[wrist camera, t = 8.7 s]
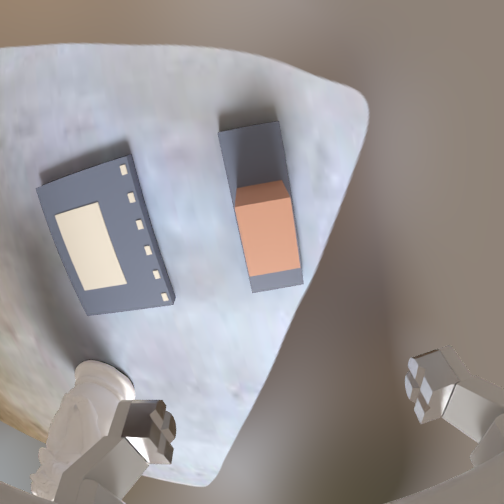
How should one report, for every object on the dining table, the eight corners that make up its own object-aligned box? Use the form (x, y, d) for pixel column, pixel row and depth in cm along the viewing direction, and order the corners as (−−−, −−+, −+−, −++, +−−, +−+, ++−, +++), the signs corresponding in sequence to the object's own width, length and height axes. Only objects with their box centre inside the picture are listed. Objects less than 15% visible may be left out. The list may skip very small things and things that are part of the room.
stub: (252, 286, 29) (253, 328, 24) (218, 131, 23) (210, 138, 18) (301, 277, 29) (313, 318, 23) (277, 121, 23) (287, 124, 17)
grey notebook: (91, 309, 30) (86, 316, 29) (42, 185, 24) (35, 188, 23) (175, 297, 30) (173, 305, 29) (131, 154, 24) (125, 156, 23)
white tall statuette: (87, 342, 33) (14, 500, 13) (176, 389, 36) (150, 555, 16) (68, 389, 37) (17, 514, 17) (142, 427, 40) (116, 556, 20)
